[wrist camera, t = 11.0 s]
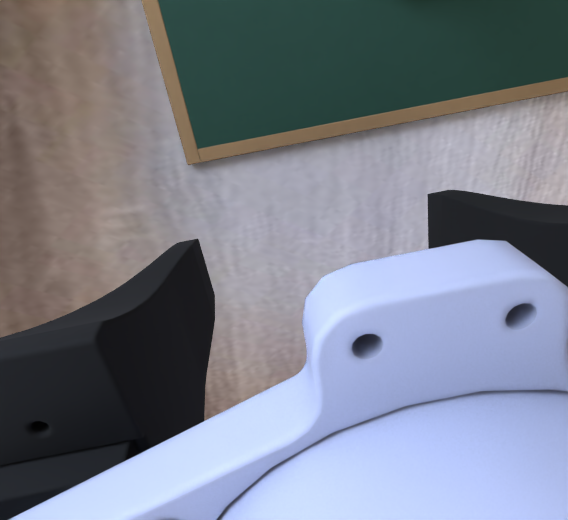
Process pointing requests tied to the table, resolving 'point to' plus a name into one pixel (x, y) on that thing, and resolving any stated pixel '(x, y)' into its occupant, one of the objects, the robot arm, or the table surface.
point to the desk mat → (345, 65)
